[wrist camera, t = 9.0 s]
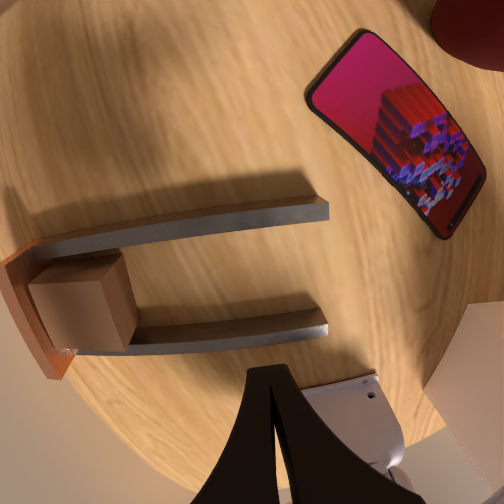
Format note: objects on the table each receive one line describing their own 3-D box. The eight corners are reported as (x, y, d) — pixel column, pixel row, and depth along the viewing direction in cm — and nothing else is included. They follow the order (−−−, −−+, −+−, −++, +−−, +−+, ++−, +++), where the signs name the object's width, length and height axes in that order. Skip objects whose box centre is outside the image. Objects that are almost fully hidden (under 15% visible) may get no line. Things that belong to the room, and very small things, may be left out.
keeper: (124, 253, 17) (100, 280, 14) (141, 316, 19) (125, 351, 15) (56, 260, 17) (27, 284, 13) (76, 317, 19) (54, 347, 15)
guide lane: (318, 195, 17) (349, 216, 12) (320, 319, 20) (341, 365, 15) (32, 240, 16) (-8, 268, 12) (71, 339, 20) (47, 378, 15)
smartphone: (367, 24, 12) (489, 173, 16) (361, 28, 13) (483, 171, 17) (300, 102, 14) (445, 246, 18) (297, 104, 15) (439, 242, 19)
